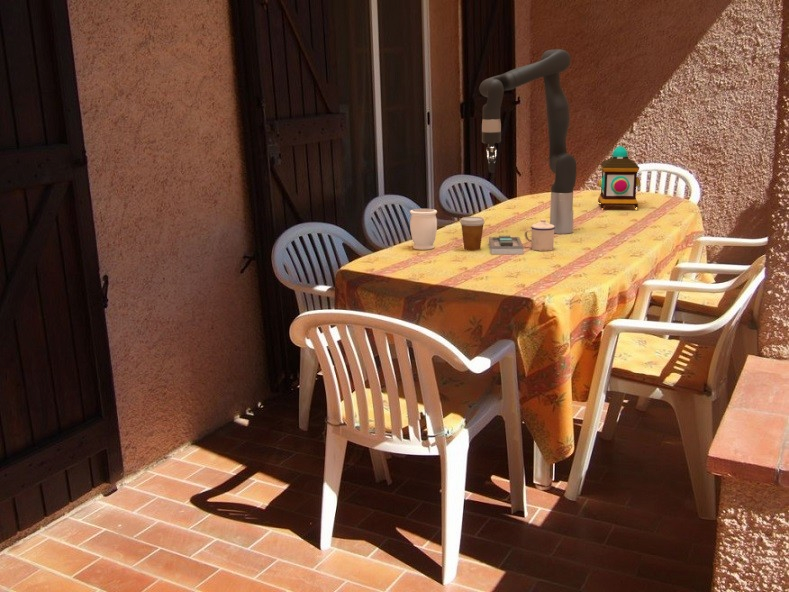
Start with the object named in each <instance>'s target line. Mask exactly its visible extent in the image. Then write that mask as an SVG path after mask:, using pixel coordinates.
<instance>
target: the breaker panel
mask: <svg viewBox="0 0 789 592" xmlns="http://www.w3.org/2000/svg"><path fill="white" fill-rule="evenodd" d="M510 237H511V239H512V242H513V246H501V244H500V241H499V236H498V237H497V236H489V237H488V246H489V250H490V253H491V255H523V254H524V245H523V243H522V240H521V238H520V237H519V236H510Z"/></svg>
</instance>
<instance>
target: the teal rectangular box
mask: <svg viewBox="0 0 789 592" xmlns="http://www.w3.org/2000/svg"><path fill="white" fill-rule="evenodd" d="M501 241H512V239H511V238H500V244H501Z"/></svg>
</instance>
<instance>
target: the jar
mask: <svg viewBox="0 0 789 592" xmlns="http://www.w3.org/2000/svg"><path fill="white" fill-rule="evenodd" d="M409 211H410V212H409V213H410V215H411V216H410V220H409V226H410V227H409V228H410V229H409V230H410V233H411V235H410V236H411V239H412V242H413V245H412V246H413V247H412V248H413V249H414V250H418V251H419V250H420V251H428V250H433V249H434V248H435V245H434V243H435V241H436V238H437V237H436V236H437V232H438V231H437V230H438V220H437V215H436V214H437V213H438V211H437V209H432V208H415V209H411V210H409Z"/></svg>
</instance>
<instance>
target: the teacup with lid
mask: <svg viewBox="0 0 789 592" xmlns="http://www.w3.org/2000/svg"><path fill="white" fill-rule="evenodd" d="M554 229H555V227H554V225H552V224H550V222H548V221H547V220H546V218H542V219H540V221H538V222H536V223H534V224H532V225H531V226H530V228H529V229H526V230H525V231H524V237H525V240H526V241H527V242H529V243H530V249H531V250H533V251H537V250H539V251H538V252H548V251H547V250H549V251H552V250H554V246H555V245H554V244H555V241H554V240H555V233H554ZM528 232H531V236H530V238H531V239H530V238H529V237H528Z"/></svg>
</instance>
